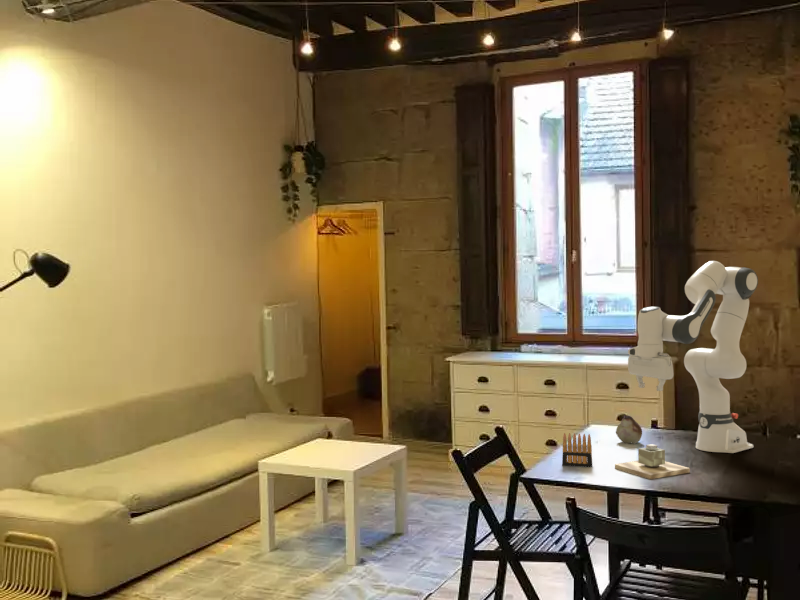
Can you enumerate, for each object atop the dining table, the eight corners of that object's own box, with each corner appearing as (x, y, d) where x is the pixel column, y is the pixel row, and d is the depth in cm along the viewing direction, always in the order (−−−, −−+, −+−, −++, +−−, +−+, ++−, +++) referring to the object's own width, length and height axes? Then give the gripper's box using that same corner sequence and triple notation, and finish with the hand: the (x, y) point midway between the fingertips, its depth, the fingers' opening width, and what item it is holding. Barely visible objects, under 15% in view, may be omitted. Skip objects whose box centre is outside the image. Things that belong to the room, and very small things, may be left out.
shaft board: (653, 462, 321) (653, 437, 320) (689, 472, 304) (689, 446, 304) (614, 468, 313) (614, 443, 312) (650, 479, 296) (649, 453, 296)
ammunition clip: (592, 466, 317) (592, 433, 316) (591, 467, 315) (591, 434, 314) (562, 464, 320) (562, 432, 320) (562, 465, 318) (561, 433, 318)
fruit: (613, 443, 353) (613, 414, 352) (620, 439, 361) (620, 410, 360) (638, 446, 347) (638, 416, 347) (645, 441, 355) (645, 412, 355)
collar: (652, 460, 313) (652, 446, 312) (665, 464, 307) (664, 449, 307) (638, 462, 310) (638, 448, 310) (651, 466, 304) (651, 452, 304)
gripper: (677, 353, 310) (677, 391, 311) (638, 348, 329) (638, 385, 329) (664, 354, 307) (664, 393, 308) (624, 349, 326) (625, 386, 326)
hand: (650, 389), depth 319 cm, fingers open, 8 cm apart
